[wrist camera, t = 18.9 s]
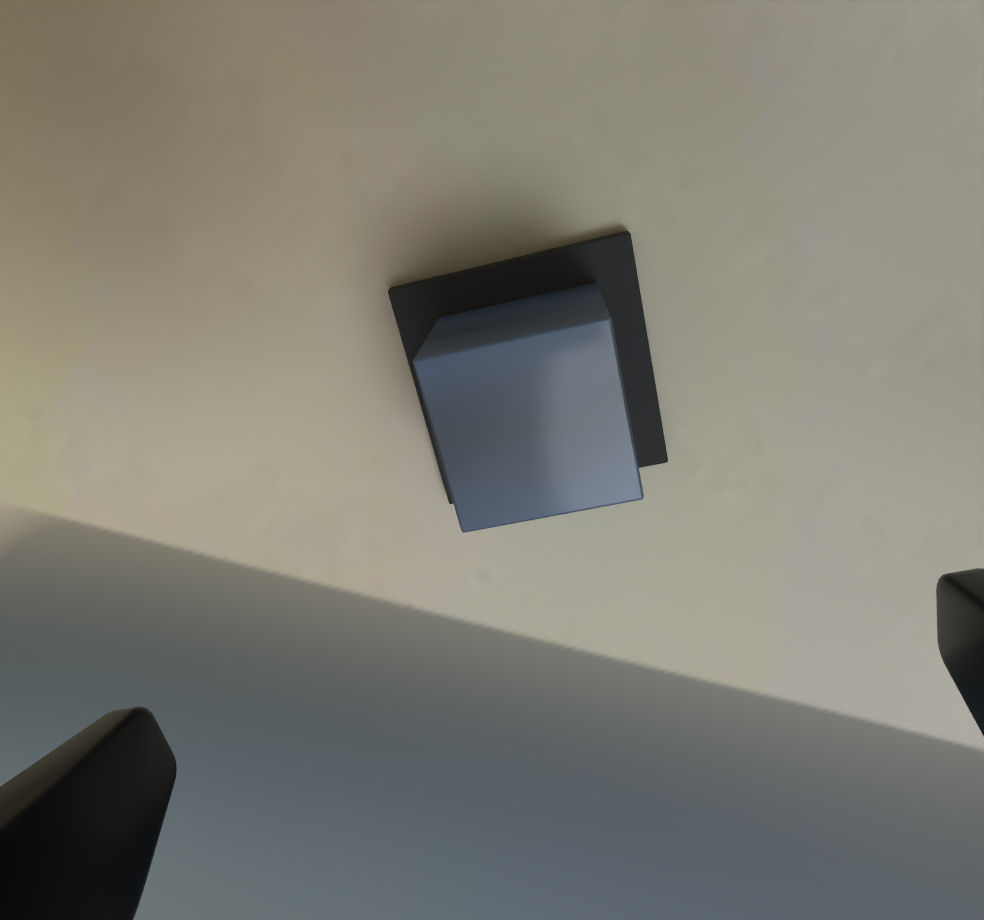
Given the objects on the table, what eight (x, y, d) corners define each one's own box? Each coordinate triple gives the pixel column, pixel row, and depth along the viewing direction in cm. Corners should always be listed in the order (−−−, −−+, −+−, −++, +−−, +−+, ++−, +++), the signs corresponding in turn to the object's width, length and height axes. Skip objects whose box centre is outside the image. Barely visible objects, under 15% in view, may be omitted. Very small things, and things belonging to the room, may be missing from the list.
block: (625, 433, 20) (644, 499, 16) (476, 462, 20) (461, 534, 16) (596, 280, 18) (610, 316, 14) (437, 317, 19) (411, 360, 15)
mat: (666, 457, 20) (668, 462, 20) (450, 498, 21) (449, 505, 21) (628, 230, 18) (630, 232, 18) (389, 287, 19) (386, 290, 18)
